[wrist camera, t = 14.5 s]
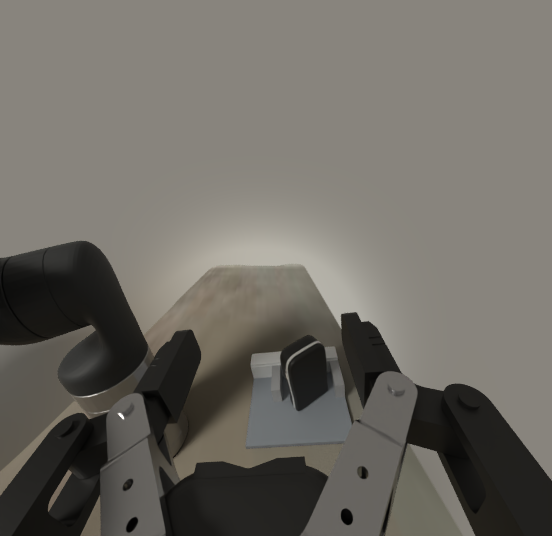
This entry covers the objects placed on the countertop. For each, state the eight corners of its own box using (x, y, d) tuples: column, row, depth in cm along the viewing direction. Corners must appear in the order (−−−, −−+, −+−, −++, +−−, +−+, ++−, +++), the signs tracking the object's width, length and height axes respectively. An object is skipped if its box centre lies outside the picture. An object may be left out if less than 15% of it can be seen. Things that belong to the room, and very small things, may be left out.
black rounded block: (315, 375, 43) (310, 327, 38) (330, 390, 40) (326, 340, 35) (284, 396, 41) (274, 348, 35) (297, 414, 37) (288, 364, 32)
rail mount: (246, 448, 35) (240, 432, 33) (256, 367, 48) (252, 353, 46) (355, 442, 33) (355, 425, 32) (335, 360, 46) (334, 345, 44)
